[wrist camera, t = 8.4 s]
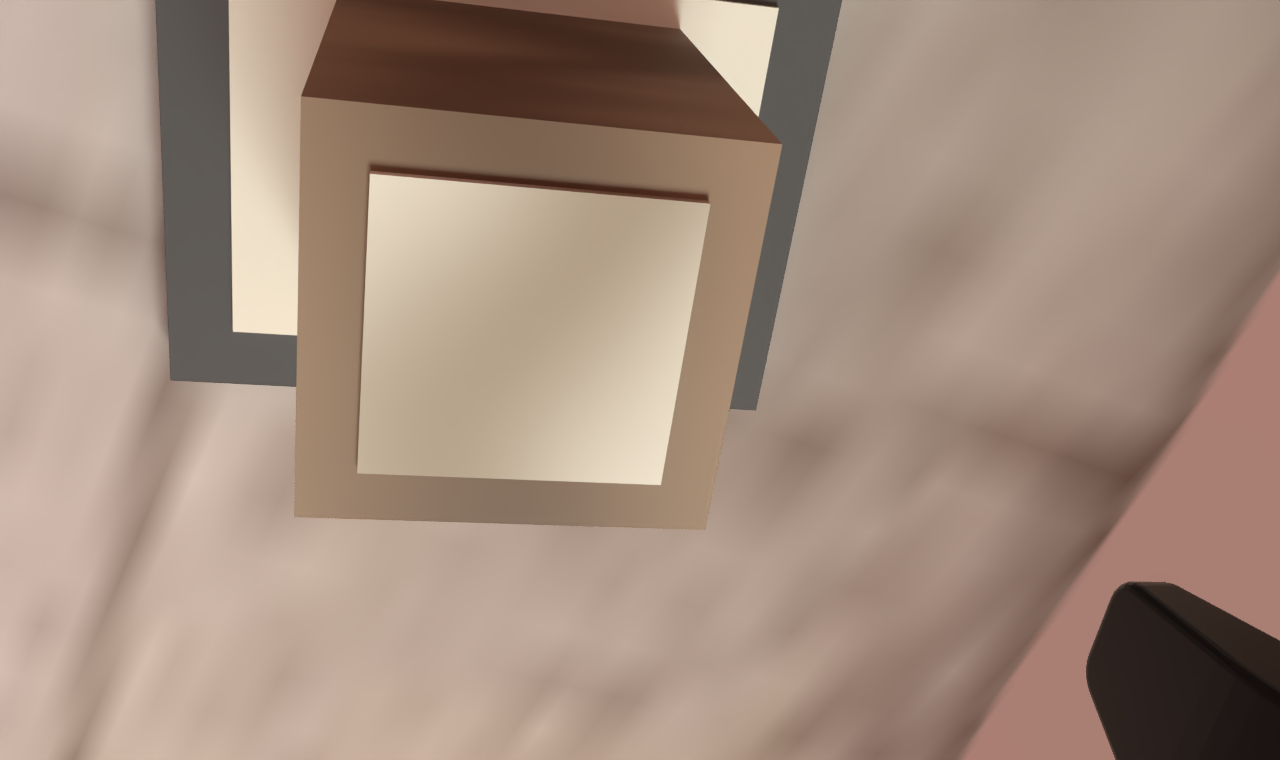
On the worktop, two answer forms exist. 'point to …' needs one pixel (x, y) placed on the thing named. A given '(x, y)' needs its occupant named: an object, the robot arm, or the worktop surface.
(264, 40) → the pad
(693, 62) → the walnut block
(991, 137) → the worktop surface
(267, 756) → the worktop surface
